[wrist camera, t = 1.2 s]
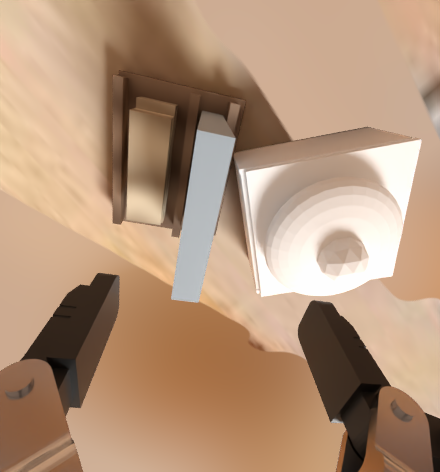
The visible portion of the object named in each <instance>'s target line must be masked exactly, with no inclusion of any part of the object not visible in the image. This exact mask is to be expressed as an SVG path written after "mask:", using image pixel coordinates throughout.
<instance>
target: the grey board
mask: <svg viewBox="0 0 440 472" xmlns="http://www.w3.org/2000/svg"><path fill="white" fill-rule="evenodd" d="M235 139H236V138H235V136H234V134H233V133H232V131H231V129H230V127H229V125H228V124H227V122H226V120H225V118H224V117H223V115H220V114H215V113H211V112H207V111H202V113H201V117H200V121H199V125H198V129H197V134H196V141H195V147H194V154H193V160H192V167H191V173H190V180H189V186H188V193H187V199H186V206H185V212H184V219H183V225H182V232H181V238H180V245H179V251H178V258H177V264H176V271H175V277H174V284H173V291H172V297H171V299H173V300H181V301H189V302H199V298H200V294H201V289H202V285H203V280H204V276H205V271H206V267H207V263H208V258H209V254H210V249H211V245H212V241H213V236H214V232H215V227H216V223H217V218H218V214H219V210H220V205H221V201H222V196H223V192H224V188H225V183H226V179H227V174H228V170H229V166H230V161H231V157H232V152H233V148H234V143H235Z"/></svg>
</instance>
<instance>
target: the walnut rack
mask: <svg viewBox="0 0 440 472" xmlns="http://www.w3.org/2000/svg"><path fill="white" fill-rule="evenodd" d="M136 97H145V98H150V99H154V100H159V101H163V102H167V103H172V104H176V105H178V108H177V117H176V126H175V135H174V144H173V152H172V161H171V170H170V179H169V188H168V197H167V205H166V214H165V218H164V221H163V223H161V225H155V224H149V223H143V222H137V221H130V220H126V212H127V179H128V146H129V113H130V109H134V108H136ZM245 103H246V100H242V99H238V98H234V97H229V96H225V95H221V94H217V93H213V92H208V91H204V90H200V89H196V88H192V87H188V86H183V85H179V84H175V83H171V82H167V81H163V80H158V79H154V78H150V77H146V76H142V75H138V74H133V73H129V72H125V71H121V70H119V76H118V75H113V223H114V224H121V223H122V221H128V222H134V223H140V224H146V225H152V226H159V227H165V228H171V229H172V237H179V235H180V230H182V225H183V219H184V212H185V206H186V199H187V193H188V186H189V180H190V173H191V167H192V160H193V154H194V147H195V141H196V134H197V129H198V125H199V121H200V117H201V113H202V111H207V112H211V113H215V114H220V115H223V117H224V118H225V120H226V122H227V124H228V125H229V127H230V129H231V131H232V133H233V134H234V136H235V138H236V139H235V143H234V148H233V152H232V157H231V161H230V166H229V170H228V174H227V179H226V183H225V188H224V192H223V196H222V201H221V205H220V210H219V214H218V218H217V223H216V227H215V232H214V235H215V234H216V230H217V225H218V221H219V217H220V212H221V208H222V203H223V199H224V195H225V190H226V186H227V182H228V177H229V173H230V169H231V164H232V160H233V156H234V151H235V147H236V143H237V138H238V134H239V130H240V125H241V121H242V116H243V112H244V108H245Z"/></svg>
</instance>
